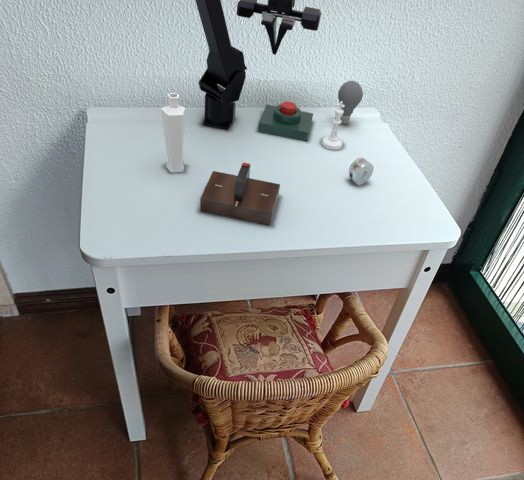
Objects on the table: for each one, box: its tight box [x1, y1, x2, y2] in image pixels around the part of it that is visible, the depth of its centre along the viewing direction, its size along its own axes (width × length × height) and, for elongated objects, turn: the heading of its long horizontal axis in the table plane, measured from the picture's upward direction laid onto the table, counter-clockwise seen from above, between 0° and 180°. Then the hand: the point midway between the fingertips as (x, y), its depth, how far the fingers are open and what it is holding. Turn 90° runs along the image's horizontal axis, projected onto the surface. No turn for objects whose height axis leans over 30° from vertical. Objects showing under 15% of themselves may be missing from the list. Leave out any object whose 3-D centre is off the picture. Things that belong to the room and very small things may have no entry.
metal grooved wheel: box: [347, 157, 374, 186], centre depth 106 cm, size 5×3×5 cm, turn 123°
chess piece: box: [321, 101, 345, 150], centre depth 113 cm, size 5×5×10 cm
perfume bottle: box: [161, 92, 186, 174], centre depth 98 cm, size 5×4×15 cm
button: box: [280, 101, 297, 115], centre depth 117 cm, size 4×4×2 cm
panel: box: [199, 170, 281, 226], centre depth 97 cm, size 14×11×3 cm
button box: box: [257, 103, 314, 142], centre depth 119 cm, size 12×10×4 cm
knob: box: [234, 161, 251, 201], centre depth 94 cm, size 6×2×4 cm, turn 169°
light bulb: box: [337, 80, 364, 125], centre depth 121 cm, size 6×6×10 cm
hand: (274, 53), depth 117 cm, fingers closed
